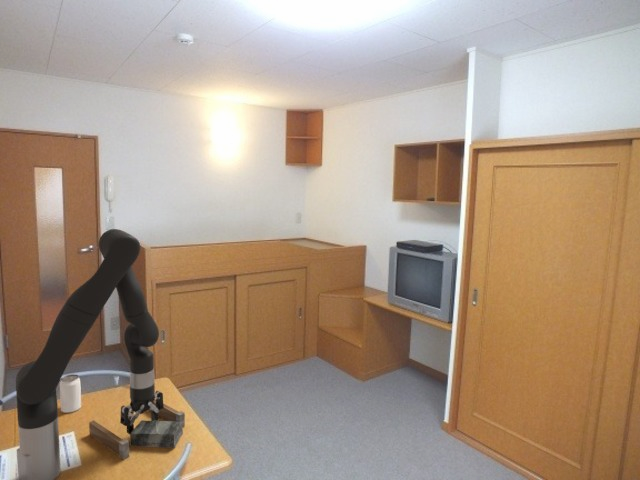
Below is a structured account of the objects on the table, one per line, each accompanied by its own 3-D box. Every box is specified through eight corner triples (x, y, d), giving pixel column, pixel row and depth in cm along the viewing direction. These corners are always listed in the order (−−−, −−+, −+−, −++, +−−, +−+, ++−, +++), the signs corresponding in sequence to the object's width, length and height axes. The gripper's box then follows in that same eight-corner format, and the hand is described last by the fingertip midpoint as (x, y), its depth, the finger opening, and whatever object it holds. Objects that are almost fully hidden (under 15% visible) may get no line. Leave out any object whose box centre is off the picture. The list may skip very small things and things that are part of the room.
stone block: (142, 431, 143) (142, 416, 142) (184, 433, 142) (184, 419, 142) (130, 447, 134) (129, 431, 133) (174, 449, 133) (174, 434, 133)
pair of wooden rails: (123, 459, 127) (122, 444, 127) (88, 435, 138) (88, 421, 138) (184, 426, 146) (184, 412, 145) (150, 407, 157) (149, 394, 156)
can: (56, 411, 152) (54, 380, 150) (71, 402, 158) (70, 372, 156) (70, 415, 150) (69, 383, 148) (85, 406, 156) (84, 375, 154)
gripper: (128, 394, 130) (129, 442, 132) (168, 378, 142) (168, 422, 144) (115, 387, 134) (116, 434, 136) (154, 371, 146) (154, 415, 148)
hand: (142, 428), depth 140 cm, fingers open, 8 cm apart
